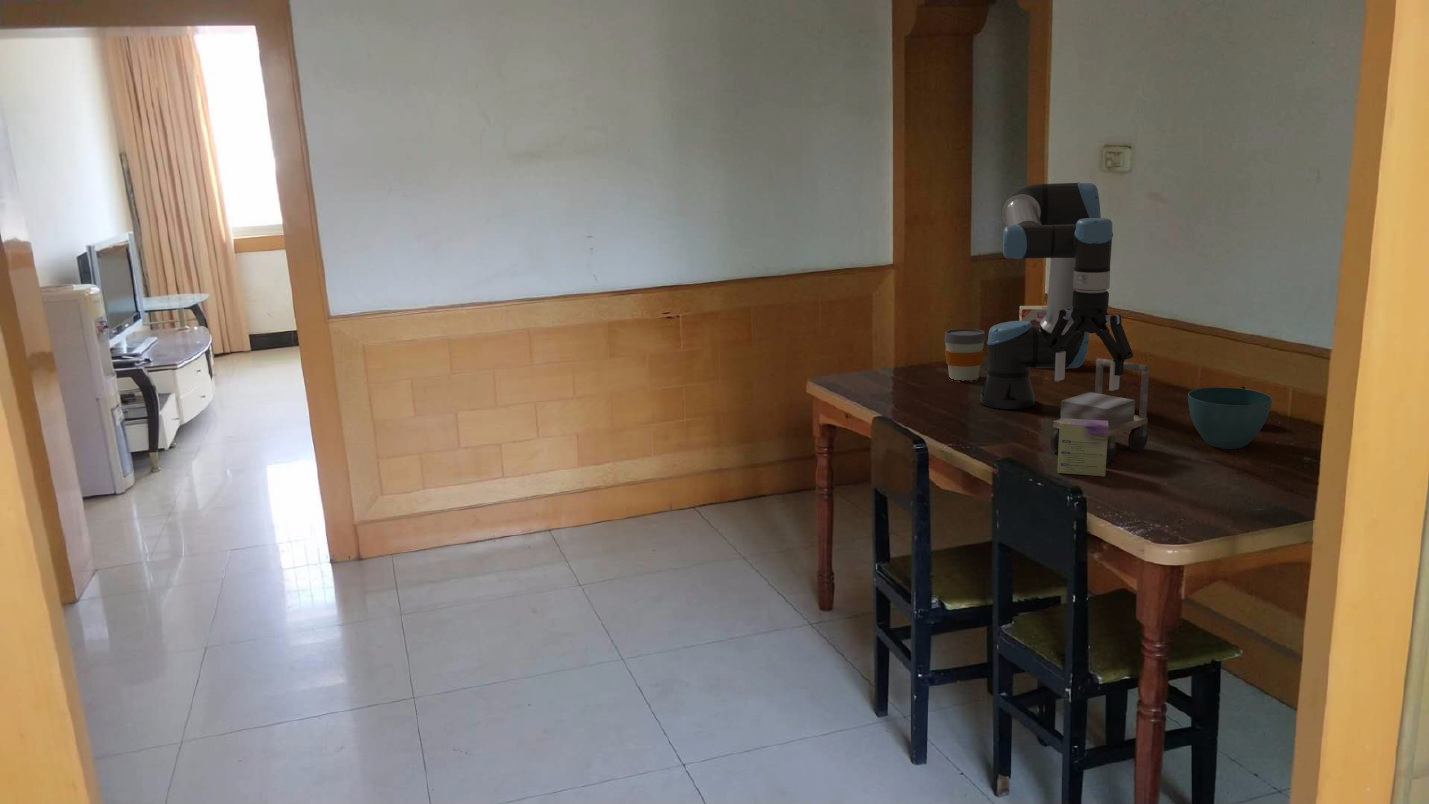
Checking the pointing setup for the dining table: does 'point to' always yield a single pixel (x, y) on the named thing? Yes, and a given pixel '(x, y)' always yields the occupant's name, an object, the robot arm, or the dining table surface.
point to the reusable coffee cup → (964, 353)
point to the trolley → (1109, 411)
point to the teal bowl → (1228, 415)
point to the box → (1082, 447)
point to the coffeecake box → (1033, 314)
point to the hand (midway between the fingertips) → (1086, 384)
